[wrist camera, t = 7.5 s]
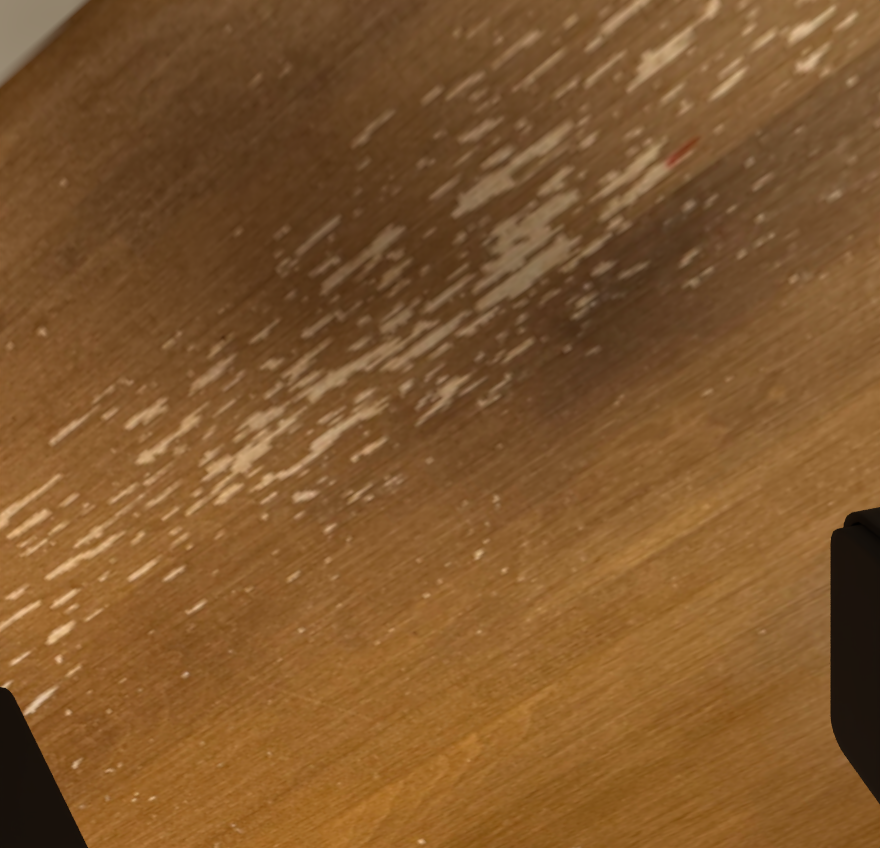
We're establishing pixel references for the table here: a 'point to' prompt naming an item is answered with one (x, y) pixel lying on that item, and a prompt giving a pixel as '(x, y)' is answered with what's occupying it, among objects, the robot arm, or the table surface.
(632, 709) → the table surface
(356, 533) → the table surface
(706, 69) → the table surface
